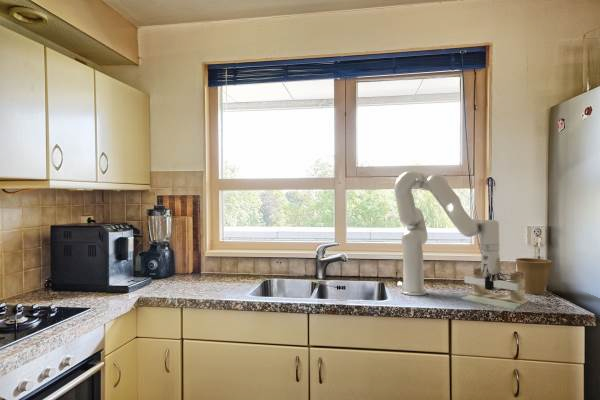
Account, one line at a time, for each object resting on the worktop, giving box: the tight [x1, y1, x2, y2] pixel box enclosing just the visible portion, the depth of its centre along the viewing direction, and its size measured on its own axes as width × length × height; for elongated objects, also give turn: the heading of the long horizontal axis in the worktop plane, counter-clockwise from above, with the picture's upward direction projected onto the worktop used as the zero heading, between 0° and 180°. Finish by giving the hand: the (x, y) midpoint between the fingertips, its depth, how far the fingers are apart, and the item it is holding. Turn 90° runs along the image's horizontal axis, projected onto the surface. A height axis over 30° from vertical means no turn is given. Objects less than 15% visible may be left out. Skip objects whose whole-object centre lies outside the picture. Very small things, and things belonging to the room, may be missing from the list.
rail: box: [463, 275, 519, 291], centre depth 166 cm, size 22×3×3 cm, turn 42°
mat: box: [461, 294, 521, 310], centre depth 166 cm, size 22×8×1 cm, turn 42°
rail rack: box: [470, 266, 529, 305], centre depth 173 cm, size 22×8×13 cm, turn 42°
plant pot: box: [515, 257, 552, 295], centre depth 182 cm, size 15×15×16 cm
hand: (490, 288), depth 166 cm, fingers closed on rail, 2 cm apart
